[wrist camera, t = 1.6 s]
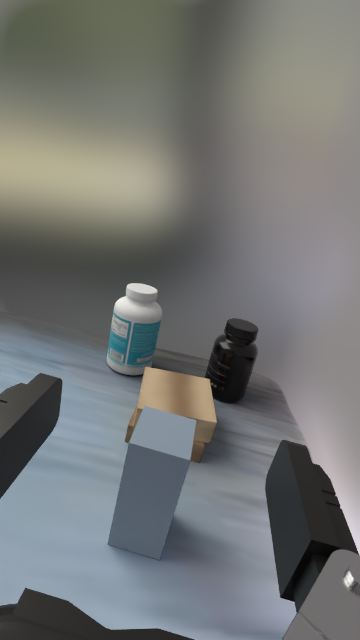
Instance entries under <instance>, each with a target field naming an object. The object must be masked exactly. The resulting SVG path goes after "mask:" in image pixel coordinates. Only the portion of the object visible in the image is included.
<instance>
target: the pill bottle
mask: <svg viewBox="0 0 360 640" xmlns="http://www.w3.org/2000/svg"><path fill="white" fill-rule="evenodd" d="M156 298H157V290H156V289H155V288H153V287H151V286H148V285H144V284H136V283H134V284H129V285H127V290H126V297H122V298H120V299H119V300H118V301H117V302H116V304H115V307H114V313H113V319H112V326H111V333H110V340H109V346H108V354H107V363H108V365H109V366H110V367H111V368H112V369H113V370H115V371H116V372H118V373H121V374H125V375H140V374H143V373H144V370H145V367H150V368H151V365H152V361H153V356H154V351H155V346H156V341H157V337H158V332H159V327H160V322H161V317H162V310H161V307H160V306H159V305H158V304H157V303H156V302H154V301H155V299H156Z"/></svg>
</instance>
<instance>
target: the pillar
mask: <svg viewBox="0 0 360 640" xmlns="http://www.w3.org/2000/svg"><path fill="white" fill-rule="evenodd" d="M195 426H196V420H194V419H190V418H187V417H183V416H179V415H176V414H172V413H169V412H165V411H162V410H158V409H155V408H151V407H147V406H144V408H143V410H142V413H141V415H140V418H139V420H138V422H137V425H136V427H135V430H134V432H133V434H132V437H131V439H130V441H129V445H128V450H127V454H126V459H125V464H124V469H123V473H122V478H121V483H120V488H119V492H118V497H117V502H116V507H115V511H114V516H113V521H112V526H111V530H110V535H109V540H108V545H111V546H115V547H118V548H121V549H124V550H128V551H131V552H134V553H137V554H141V555H144V556H147V557H150V558H153V559H157V560H160V557H161V554H162V551H163V547H164V544H165V541H166V538H167V534H168V531H169V528H170V525H171V521H172V518H173V515H174V512H175V508H176V505H177V502H178V499H179V496H180V492H181V489H182V486H183V483H184V479H185V476H186V473H187V470H188V466H189V463H190V459H191V453H192V446H193V439H194V433H195Z"/></svg>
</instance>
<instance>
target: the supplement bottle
mask: <svg viewBox="0 0 360 640" xmlns="http://www.w3.org/2000/svg"><path fill="white" fill-rule="evenodd" d="M257 333H258V328H257V326H256V325H254V324H252V323H250V322H248V321H245V320H242V319H236V318H232V319H229V320H228V321H227V323H226V327H225V329H224V334H221V335H219V336H218V337H217V338H216V340H215V342H214V345H213V349H212V353H211V356H210V360H209V364H208V367H207V371H206V375H205V378H207V379H210V384H211V390H212V396H213V398H215V399H217V400H220V401H223V402H237V401H239V400H241V399H242V398H243V396H244V393H245V391H246V388H247V385H248V382H249V379H250V376H251V373H252V370H253V367H254V363H255V361H256V358H257V354H258V349H257V346H256V344H255V343H254V342H255V340H256V336H257Z"/></svg>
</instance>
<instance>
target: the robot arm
mask: <svg viewBox="0 0 360 640" xmlns="http://www.w3.org/2000/svg"><path fill="white" fill-rule="evenodd" d="M61 392H62V379H60V378H57V377H53V376H49V375H46V374H42V373H40V374H38V375H37V376H36V377H35V378H34V379H33V380H31V381H30V382H29V383H28V384H23V383H20V384H17V385H15V386H13V387H10V388H8V389H6V390H5V391H3V392H2V393H1V394H0V498H1V497H2V496H3V495H4V493H5V492H6V491H7V489H8V488H9V487H10V485H11V484H12V483H13V482H14V480H15V479H16V478H17V476H18V475H19V474H20V472H21V471H22V470H23V469H24V467H25V466H26V465H27V463H28V462H29V461H30V459H31V458H32V457H33V456H34V454H35V453H36V452H37V450H38V449H39V448H40V446H41V445H42V444H43V443H44V441H45V440H46V439H47V437H48V436H49V435H50V433H51V432H52V431H53V429H54V427H55V425H56V423H57V420H58V417H59V412H60V402H61ZM265 489H266V498H267V505H268V513H269V520H270V527H271V534H272V541H273V548H274V555H275V563H276V570H277V577H278V584H279V591H280V598H283V599H287V600H290V601H294V602H295V606H296V612H297V614H296V616H295V617H294V619H293V621H292V623H291V624H290V626H289V628H288V630H287V631H286V633H285V635H284V637H283V638H282V640H360V556H359V554H358V551H357V548H356V546H355V543H354V540H353V538H352V535H351V533H350V530H349V527H348V525H347V522H346V519H345V517H344V514H343V512H342V509H340V504H339V501H338V498H337V497H336V496H335V494H336V493H335V491H334V488H333V486H332V483H331V480H330V478H329V477H328V476H327V474H326V473H325V472H324V471H323V469H322V468H321V467H320V466H319V465H317V464H313V463H312V461H311V458H310V455H309V452H308V449H307V447H306V446H305V445H301V444H298V443H294V442H290V441H287V440H282V441H281V443H280V445H279V447H278V450H277V452H276V454H275V457H274V459H273V462H272V464H271V466H270V469H269V471H268V474H267V478H266V487H265ZM0 640H194V639H191V638H187V637H184V636H181V635H177V634H174V633H171V632H168V631H164V630H161V629H126V630H110V629H107V628H105V627H103V626H102V625H101V624H99V623H98V622H96V621H95V620H94V619H92V618H91V617H89V616H88V615H87V614H85V613H84V612H83V611H81V610H80V609H78V608H77V607H76V606H74V605H73V604H71V603H70V602H69V601H66V600H63V599H60V598H57V597H53V596H50V595H47V594H44V593H40V592H37V591H34V590H30V589H27V588H25V590H24V592H23V593H22V595H21V597H20V599H19V601H18V603H17V604H8V605H2V606H0Z"/></svg>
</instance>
